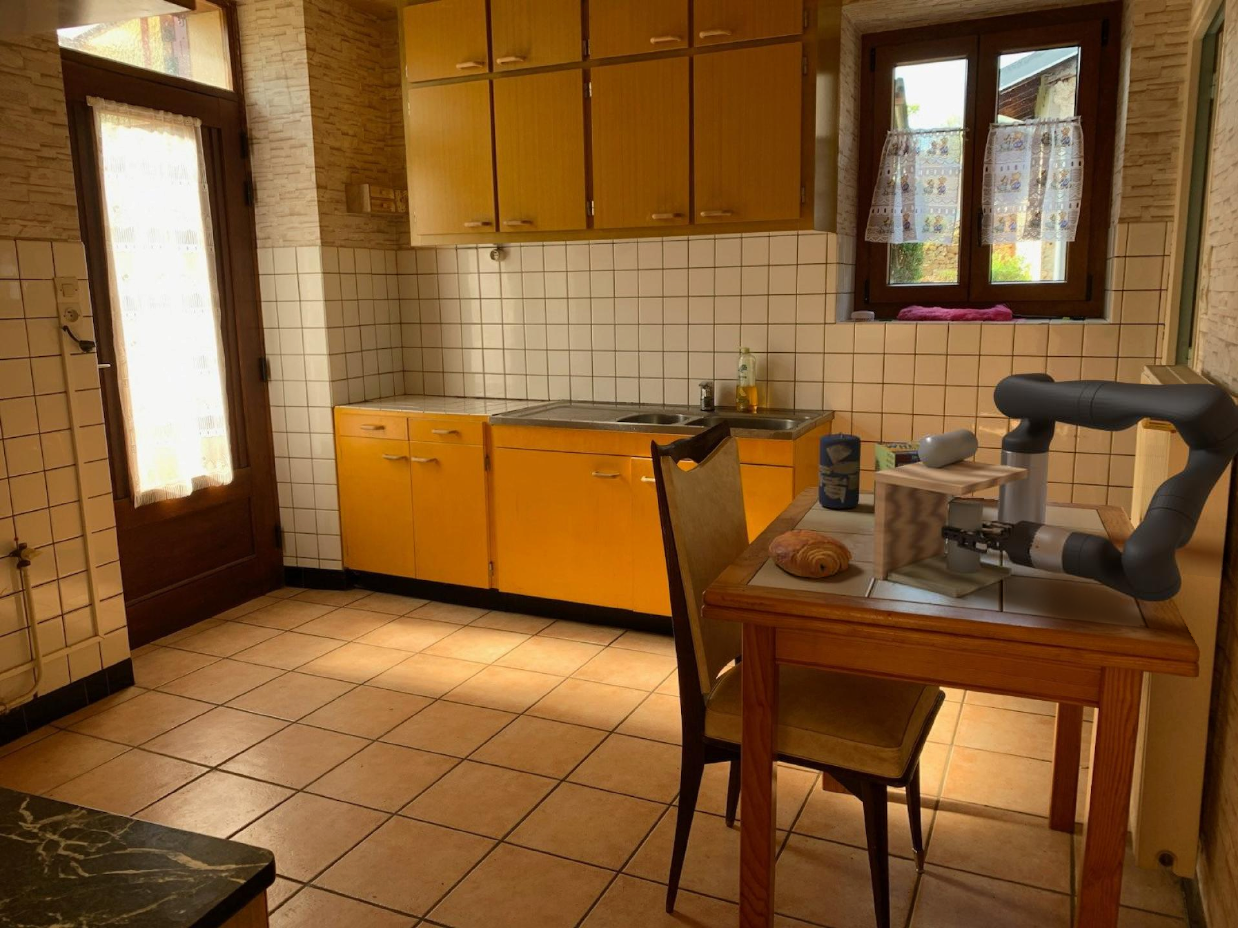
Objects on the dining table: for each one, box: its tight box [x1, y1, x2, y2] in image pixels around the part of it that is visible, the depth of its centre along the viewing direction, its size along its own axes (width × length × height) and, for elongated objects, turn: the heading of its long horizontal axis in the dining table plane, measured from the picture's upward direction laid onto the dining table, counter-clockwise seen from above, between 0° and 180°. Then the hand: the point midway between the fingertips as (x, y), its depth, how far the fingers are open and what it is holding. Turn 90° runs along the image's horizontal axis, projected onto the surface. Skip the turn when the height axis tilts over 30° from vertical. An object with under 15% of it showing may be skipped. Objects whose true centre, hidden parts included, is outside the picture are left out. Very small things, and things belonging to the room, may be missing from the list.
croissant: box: [768, 529, 853, 579], centre depth 176 cm, size 14×16×8 cm
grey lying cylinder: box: [918, 428, 979, 468], centre depth 172 cm, size 6×6×12 cm
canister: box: [817, 431, 862, 509], centre depth 222 cm, size 10×10×18 cm
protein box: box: [873, 442, 920, 508], centre depth 214 cm, size 10×15×16 cm
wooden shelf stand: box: [872, 459, 1027, 598], centre depth 168 cm, size 21×17×20 cm
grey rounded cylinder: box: [946, 499, 984, 574], centre depth 165 cm, size 6×6×12 cm
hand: (952, 528), depth 167 cm, fingers closed on grey rounded cylinder, 5 cm apart
